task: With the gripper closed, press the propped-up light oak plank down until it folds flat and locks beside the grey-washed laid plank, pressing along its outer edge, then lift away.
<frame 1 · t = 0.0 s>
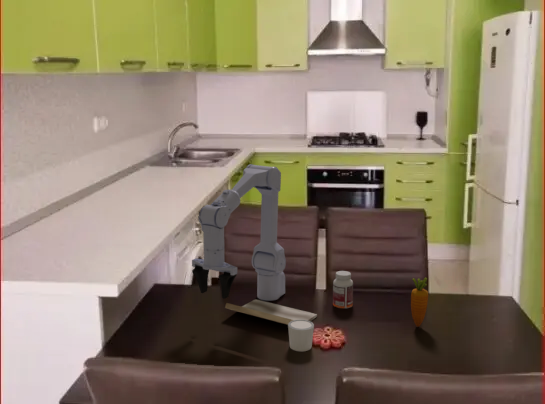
hand: (214, 294, 171), 10 cm above the table, tool pointing down, fingers open, 7 cm apart
oak plank: (263, 315, 176), point 3 cm above the table, hinge at 28.0°
laid plank: (278, 315, 183), on the table
white cup: (300, 349, 161), on the table
pill bottle: (342, 307, 190), on the table
carrot: (417, 327, 176), on the table
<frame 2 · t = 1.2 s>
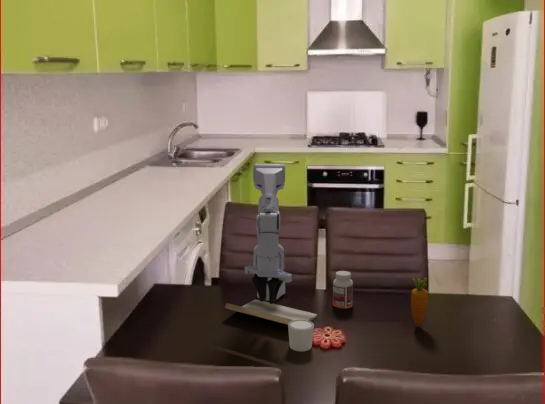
hand: (267, 301, 171), 8 cm above the table, tool pointing down, fingers open, 3 cm apart
nothing on the table moved.
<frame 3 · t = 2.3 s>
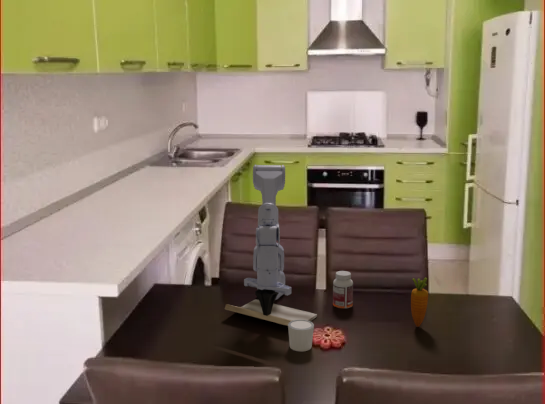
hand: (267, 314, 172), 5 cm above the table, tool pointing down, fingers closed, pressing on oak plank
oak plank: (263, 316, 176), point 3 cm above the table, hinge at 25.2°, touching gripper
everything else where it was.
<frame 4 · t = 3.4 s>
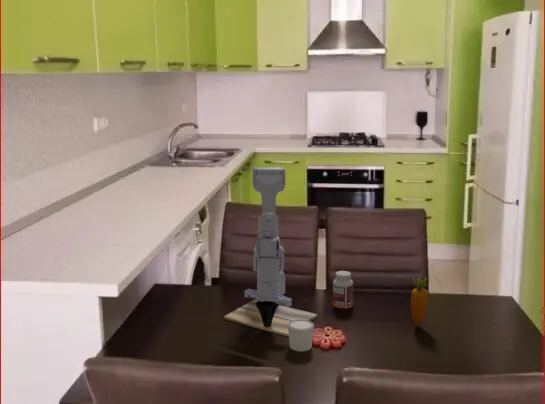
hand: (267, 325, 172), 1 cm above the table, tool pointing down, fingers closed, pressing on oak plank
oak plank: (262, 322, 176), point 1 cm above the table, hinge at -0.8°, touching gripper
everything else where it was.
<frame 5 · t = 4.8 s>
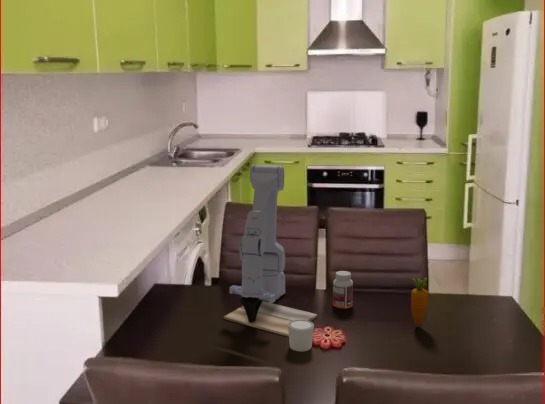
hand: (252, 321, 175), 1 cm above the table, tool pointing down, fingers closed, pressing on oak plank
oak plank: (262, 322, 176), point 1 cm above the table, hinge at -0.8°, touching gripper
everything else where it was.
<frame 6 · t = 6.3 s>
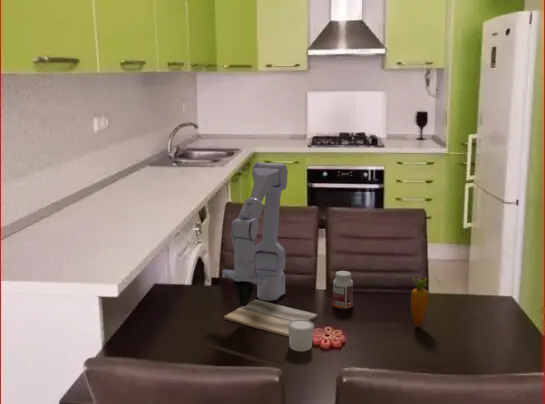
hand: (244, 305, 176), 6 cm above the table, tool pointing down, fingers closed
oak plank: (262, 322, 176), point 1 cm above the table, hinge at -0.6°
everything else where it was.
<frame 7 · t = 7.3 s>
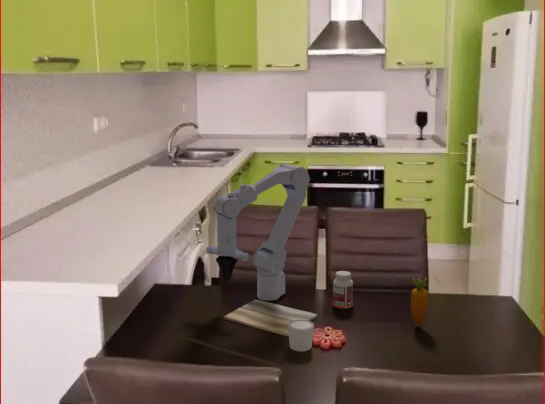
hand: (227, 279, 186), 9 cm above the table, tool pointing down, fingers closed
nothing on the table moved.
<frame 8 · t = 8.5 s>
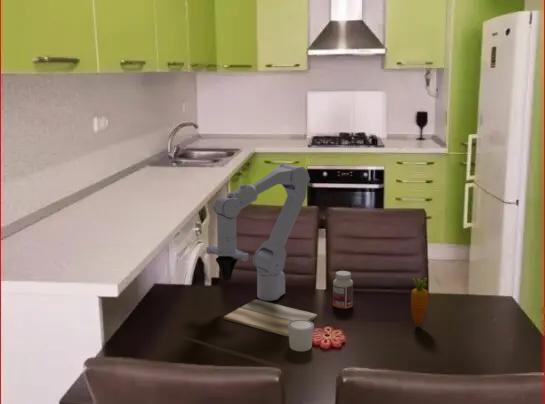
hand: (227, 279, 186), 9 cm above the table, tool pointing down, fingers closed
nothing on the table moved.
at the end: oak plank at -1° (first picture: +28°); white cup moved 0.2 cm from its start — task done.
